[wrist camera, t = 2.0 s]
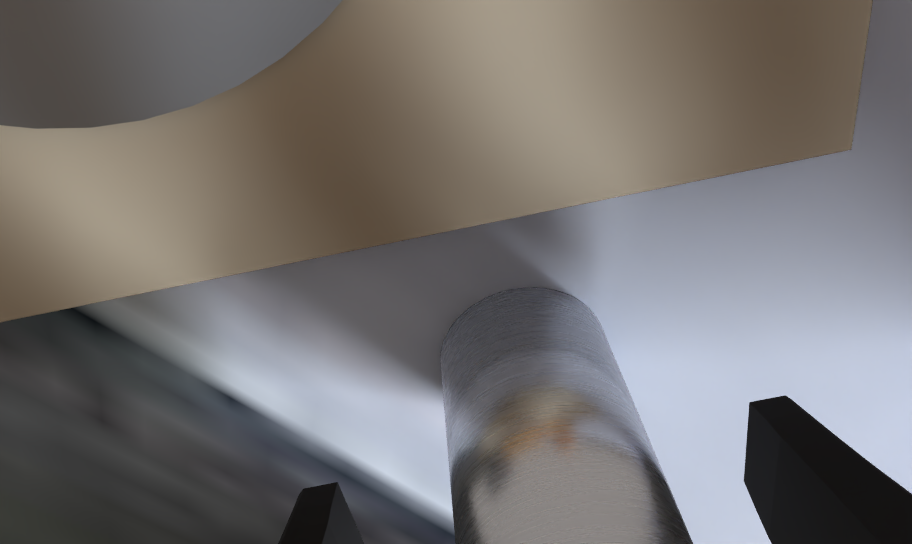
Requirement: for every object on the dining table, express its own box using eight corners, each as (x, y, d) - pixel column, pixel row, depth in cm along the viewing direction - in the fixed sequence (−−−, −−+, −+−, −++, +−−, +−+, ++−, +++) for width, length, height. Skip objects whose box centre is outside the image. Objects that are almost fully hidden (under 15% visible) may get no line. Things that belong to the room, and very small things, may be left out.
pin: (599, 272, 14) (718, 527, 9) (610, 399, 16) (712, 668, 10) (424, 306, 14) (441, 577, 9) (457, 429, 16) (485, 707, 11)
